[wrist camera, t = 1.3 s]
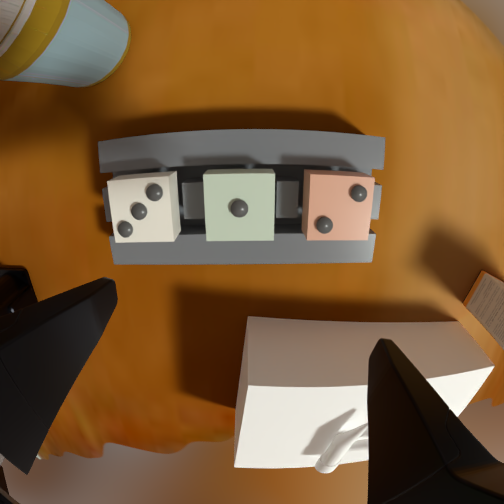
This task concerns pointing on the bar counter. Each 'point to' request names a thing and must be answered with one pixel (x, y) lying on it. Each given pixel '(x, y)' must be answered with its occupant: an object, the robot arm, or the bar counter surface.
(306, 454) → the tissue box
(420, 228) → the bar counter surface
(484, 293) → the supplement box
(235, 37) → the bar counter surface
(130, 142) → the keypad
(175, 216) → the key cream
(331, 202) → the key terracotta
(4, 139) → the bar counter surface
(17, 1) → the bottle
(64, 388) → the robot arm
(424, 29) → the bar counter surface
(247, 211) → the key sage
